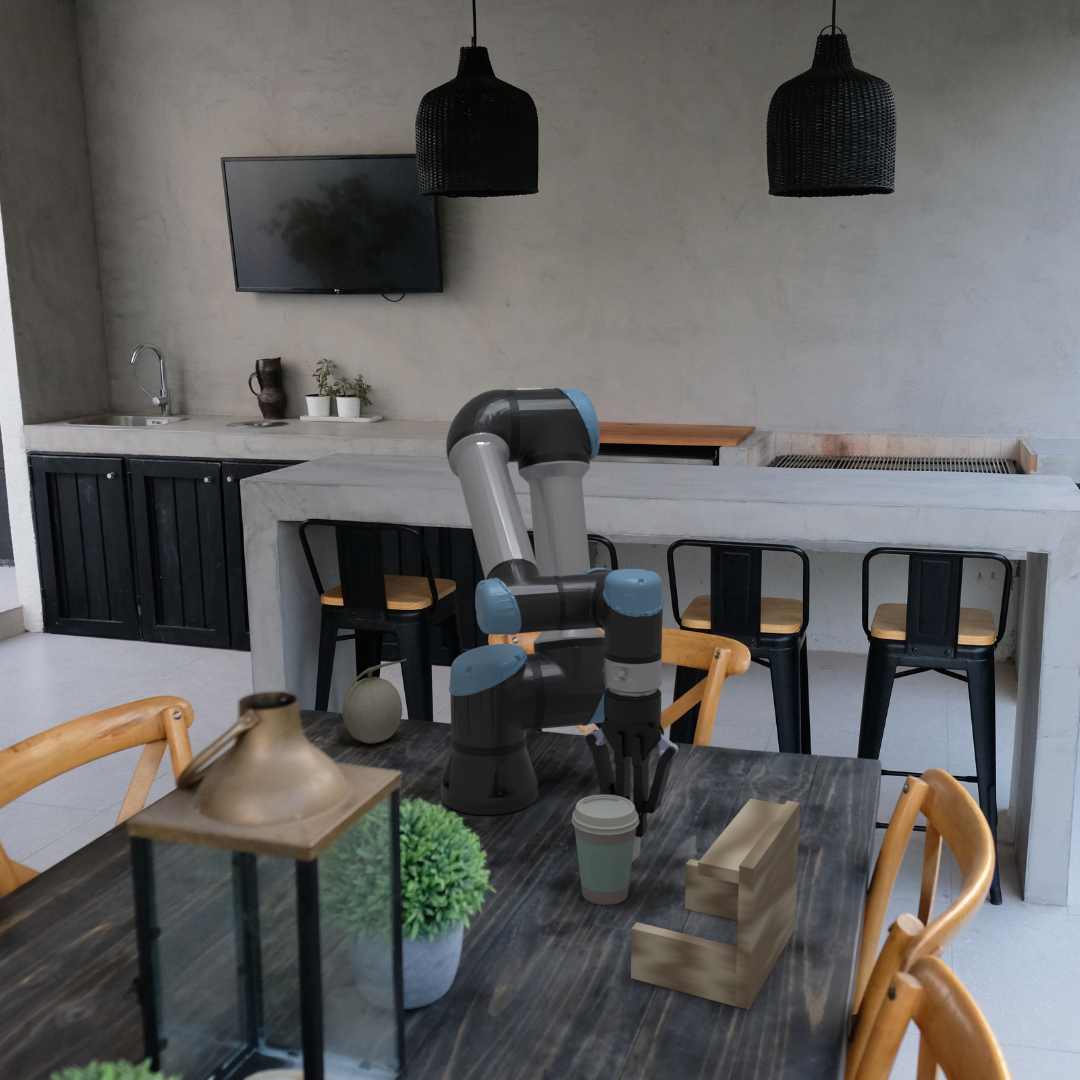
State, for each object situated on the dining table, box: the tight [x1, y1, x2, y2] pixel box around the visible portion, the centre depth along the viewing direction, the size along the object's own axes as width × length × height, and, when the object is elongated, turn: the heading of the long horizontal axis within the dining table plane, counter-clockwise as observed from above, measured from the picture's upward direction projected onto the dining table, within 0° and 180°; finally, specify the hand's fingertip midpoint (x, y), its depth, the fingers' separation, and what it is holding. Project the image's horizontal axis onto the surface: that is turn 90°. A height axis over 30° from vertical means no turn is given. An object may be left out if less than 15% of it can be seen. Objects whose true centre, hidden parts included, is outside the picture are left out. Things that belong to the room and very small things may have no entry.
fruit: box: [341, 658, 407, 744], centre depth 199 cm, size 10×12×15 cm
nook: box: [630, 798, 801, 1011], centre depth 129 cm, size 14×19×16 cm
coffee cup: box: [571, 794, 639, 906], centre depth 143 cm, size 8×8×12 cm
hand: (631, 856), depth 152 cm, fingers closed
